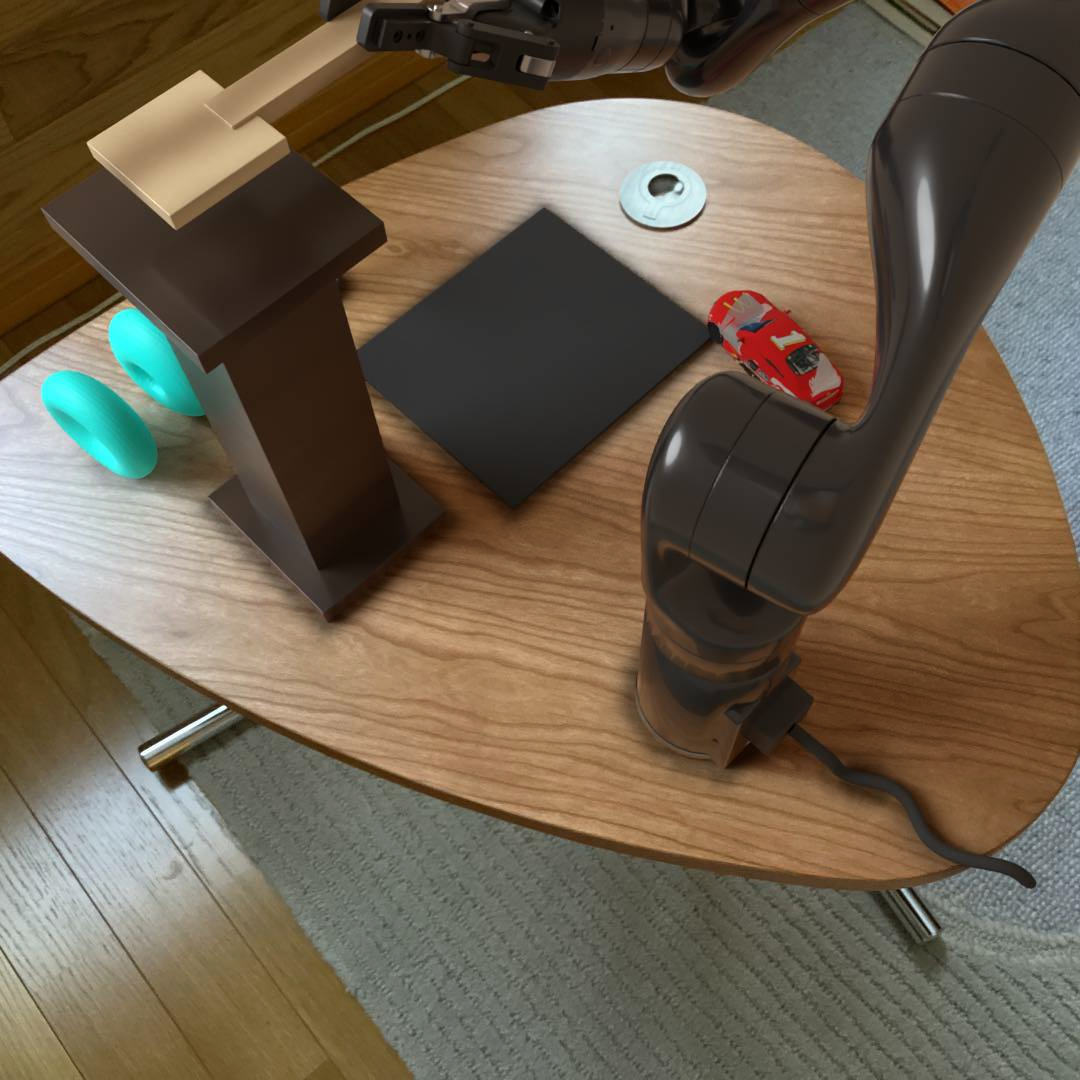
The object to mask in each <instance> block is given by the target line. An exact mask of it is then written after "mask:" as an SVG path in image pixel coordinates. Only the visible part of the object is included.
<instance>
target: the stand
mask: <svg viewBox="0 0 1080 1080" xmlns="http://www.w3.org/2000/svg"><path fill="white" fill-rule="evenodd" d="M289 149H290V153H289V154H287V155H286V156H285V157H283V158H282V159H280V160H279V161H277V162H276V163H274V164H273V165H271V166H270V167H268V168H267V169H266V170H264V171H263V172H261V173H260V174H258V175H257V176H255V177H254V178H252V179H251V180H250V181H248V182H247V183H245V184H244V185H242V186H241V187H239V188H238V189H236V190H235V191H233V192H232V193H231V194H229V195H228V196H226V197H225V198H223V199H222V200H220V201H219V202H217V203H216V204H215V205H213V206H212V207H210V208H209V209H207V210H206V211H204V212H203V213H201V214H200V215H198V216H197V217H196V218H194V219H193V220H191V221H190V222H188V223H187V224H185V225H184V226H182V227H181V228H180V229H178V230H175V229H174V228H173V227H172V226H171V225H170V224H168V223H167V222H166V221H165V220H164V219H163V218H162V217H161V216H159V215H158V214H157V213H156V212H155V211H154V210H153V209H152V208H150V207H149V206H148V205H147V204H146V203H145V202H144V201H142V200H141V199H140V198H139V197H138V196H137V195H136V194H135V193H133V192H132V191H131V190H130V189H129V188H128V187H127V186H126V185H124V184H123V183H122V182H121V181H120V180H119V179H118V178H117V177H115V176H114V175H113V174H112V173H111V172H110V171H109V170H107V169H106V168H105V167H104V166H103V167H101V169H99V170H97V171H96V172H94V173H92V174H91V175H88V177H86V178H84V179H82V181H80V182H78V183H77V184H76V185H74V186H72V187H71V188H69V189H67V190H66V191H64V192H63V193H62V194H60V195H58V196H57V197H55V198H54V199H52V200H50V201H49V202H48V203H46V204H45V205H43V206H41V207H40V210H41V211H42V214H43V215H44V217H45V219H46V221H47V222H48V224H49V226H50V228H51V229H52V230H53V231H54V232H56V233H57V234H58V235H59V236H60V237H61V238H62V239H63V240H64V241H65V242H66V243H67V244H68V245H69V246H70V247H71V248H72V249H73V250H75V252H77V253H78V254H79V255H80V256H81V257H82V258H83V259H84V260H85V261H86V262H87V263H88V264H89V265H90V266H92V267H93V269H94V270H96V272H98V273H99V274H100V275H101V277H103V278H104V279H105V280H106V281H107V282H108V283H109V284H111V285H112V287H114V288H115V289H116V291H118V292H119V293H120V294H121V295H123V297H124V298H125V299H126V300H127V301H128V302H130V304H132V306H133V307H134V308H135V309H138V310H139V311H140V312H141V313H142V314H143V315H144V316H145V317H146V318H148V319H149V320H150V321H151V322H152V323H153V324H154V325H155V326H156V327H157V328H158V329H159V330H160V331H161V332H162V333H163V334H164V335H165V337H166V339H167V340H168V342H169V344H170V346H171V348H172V350H173V352H174V354H175V356H176V358H177V360H178V362H179V364H180V366H181V368H182V370H183V372H184V374H185V375H186V377H187V379H188V381H189V383H190V385H191V387H192V389H193V391H194V393H195V395H196V397H197V399H198V401H199V403H200V405H201V407H202V409H203V410H204V412H205V416H206V418H207V420H208V423H209V424H210V427H211V428H212V430H213V432H214V434H215V436H216V438H217V440H218V441H219V444H220V445H221V447H222V450H223V451H224V453H225V455H226V458H227V459H228V461H229V464H230V466H231V467H232V469H233V471H234V473H235V474H234V475H233V476H232V477H231V478H229V479H228V480H227V481H226V482H224V483H223V484H222V485H220V486H219V487H217V488H216V489H215V490H213V491H212V492H211V493H210V494H209V495H207V500H208V502H209V503H210V505H211V506H212V508H213V509H214V510H215V511H216V512H217V513H218V514H219V515H220V516H221V517H222V518H223V519H224V520H225V522H227V523H228V524H229V525H230V526H231V527H232V528H233V529H234V530H235V531H236V532H237V533H238V534H239V535H240V536H241V537H242V538H243V540H245V541H246V543H248V544H249V545H250V546H251V547H252V548H253V549H254V550H255V551H256V552H257V553H258V554H259V555H260V556H261V557H262V558H263V559H264V560H265V561H266V562H267V563H268V564H269V566H271V568H272V569H273V570H275V572H277V573H278V575H280V576H281V578H282V579H283V580H284V581H285V582H286V583H287V584H288V585H289V586H290V587H291V588H292V589H293V590H295V592H296V593H297V594H298V595H299V596H300V597H301V598H302V599H303V600H304V601H305V602H306V603H307V604H308V605H309V606H310V607H311V608H312V609H313V610H314V611H315V612H316V613H317V614H318V615H319V616H320V617H321V618H322V619H323V620H324V621H325V623H328V622H330V621H331V620H332V619H333V618H335V617H336V616H337V615H338V614H339V613H341V612H342V611H343V610H344V609H346V607H348V606H349V605H350V604H351V603H352V602H353V601H355V600H356V599H357V598H359V596H360V595H362V594H363V593H364V592H365V591H366V590H367V589H369V588H370V587H371V586H373V585H374V583H376V582H377V581H378V580H380V579H381V578H382V577H383V576H384V575H386V573H388V572H389V571H390V570H391V569H392V568H394V567H395V566H396V565H398V563H399V562H400V561H402V560H403V559H404V558H405V557H406V556H407V555H409V554H410V553H412V552H413V551H414V549H416V548H417V547H419V545H421V543H423V542H424V541H425V540H426V539H428V538H429V537H430V536H432V535H433V533H435V532H436V531H437V530H438V529H439V528H441V527H442V526H443V525H445V523H447V521H448V520H449V518H448V513H447V509H445V508H444V507H443V506H442V505H441V504H440V503H439V502H438V501H436V499H434V498H433V497H432V496H431V495H430V494H429V493H427V492H426V490H425V489H423V488H422V487H421V486H420V485H419V484H418V483H416V481H414V479H412V478H411V477H410V476H409V475H408V474H407V473H406V472H405V471H403V470H402V469H401V468H400V467H399V466H398V465H396V464H395V462H394V461H392V460H391V459H390V457H388V456H387V452H386V449H385V446H384V442H383V438H382V434H381V432H380V428H379V424H378V421H377V418H376V417H377V416H376V415H375V414H376V413H375V410H374V407H373V403H372V400H371V396H370V393H369V390H368V386H367V381H366V380H365V379H364V375H363V372H362V368H361V365H360V361H359V358H358V354H357V351H356V350H357V348H356V344H355V341H354V337H353V333H352V330H351V327H350V323H349V320H348V317H347V313H346V312H347V311H346V310H345V309H346V308H345V304H344V302H343V299H342V295H341V290H340V291H339V288H338V284H337V281H336V279H337V278H339V279H340V277H342V276H343V275H344V274H346V273H347V272H348V271H349V270H351V269H352V268H354V267H356V266H357V265H358V264H359V263H361V262H362V261H363V260H365V259H366V258H367V257H369V256H370V255H372V254H373V253H374V252H376V251H377V250H378V249H380V248H381V247H383V246H384V245H385V244H387V243H388V241H389V239H388V235H387V232H386V225H385V222H384V221H383V220H382V219H381V218H379V216H377V215H376V214H374V213H373V211H371V210H370V209H369V208H367V207H366V206H365V205H363V204H362V203H361V202H360V201H358V200H357V199H356V198H354V197H353V196H352V195H351V194H349V192H347V191H346V190H345V189H343V188H342V187H341V186H340V185H338V184H337V183H336V182H335V181H333V179H331V178H330V177H328V176H327V175H326V174H325V173H323V172H322V171H321V170H320V169H319V168H317V167H316V166H315V165H313V164H312V163H311V162H309V161H308V160H307V159H306V158H304V156H302V155H300V154H299V153H298V152H297V151H296V150H294V149H293V148H292V147H291V146H290V147H289Z"/></svg>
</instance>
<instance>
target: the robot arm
mask: <svg viewBox="0 0 1080 1080" xmlns="http://www.w3.org/2000/svg"><path fill="white" fill-rule="evenodd" d="M360 1H361V0H320V2H319V7H318V15H319V17H320V18H321V19H322V20H323V21H325V22H326V23H327V22H329V21H331V20H332V19H334V18H335V17H337V16H338V15H340V14H341V13H343V12H345V11H346V10H348V9H349V8H351V7H352V6H354V5H355V4H357V3H358V2H360ZM854 1H855V0H445V2H441V3H428V4H427V6H426V9H425V8H424V7H422V6H421V5H419V4H418V3H376V2H371V3H368V4H367V5H366V6H365V7H364V9H363V11H362V15H361V19H360V23H359V28H358V32H357V36H356V41H357V43H358V44H359V45H360V46H361V47H363V48H364V49H365V50H367V51H368V52H377V53H378V52H380V53H382V52H415V53H416V55H417V54H418V55H419V56H420V57H422V58H423V59H426V60H427V59H428V60H429V59H430V60H437V59H446V61H445V68H446V69H447V70H449V71H450V72H452V73H453V74H455V75H464V76H468V77H471V78H472V77H473V78H477V79H483V80H487V81H492V82H498V83H502V84H507V85H512V86H518V87H523V88H528V89H533V90H535V91H546V89H547V87H548V84H549V82H564V81H581V80H588V79H593V78H596V77H599V76H600V77H601V76H603V75H611V74H631V73H634V74H635V73H644V72H648V71H652V70H655V69H658V68H660V67H662V66H663V68H664V72H665V75H666V77H667V80H668V81H669V83H670V85H672V87H673V88H675V89H676V90H677V91H678V92H680V93H682V94H684V95H686V96H689V97H693V98H707V97H712V96H713V97H714V96H717V95H720V94H723V93H724V92H727V91H729V90H731V89H732V88H734V87H737V85H739V84H740V83H742V82H744V81H745V80H747V78H748V77H750V76H751V75H752V74H754V72H756V71H757V70H758V69H759V68H760V67H761V66H762V65H763V64H764V63H765V62H767V60H768V59H770V57H771V56H772V55H774V54H775V52H776V51H778V49H780V48H781V47H782V46H783V45H784V44H785V43H786V42H787V41H789V40H790V39H791V38H793V36H795V35H796V34H797V33H798V32H799V31H801V30H802V29H803V28H805V27H806V26H808V25H809V24H810V23H812V22H813V21H815V20H817V19H818V18H821V17H822V16H825V15H827V14H829V13H831V12H833V11H835V10H838V9H840V8H842V7H843V6H845V5H847V4H850V3H852V2H854ZM1079 160H1080V0H975V1H973V2H971V3H969V4H968V5H967V6H965V7H963V8H962V9H960V10H959V11H958V12H956V13H955V14H954V15H953V16H951V17H950V18H949V19H948V20H947V21H946V22H945V23H944V24H943V25H942V26H941V27H940V28H939V29H938V30H937V31H936V33H934V35H933V36H932V37H931V38H930V40H929V42H928V43H927V44H926V46H925V47H924V49H923V51H922V52H921V54H920V56H919V57H918V59H917V61H916V62H915V64H914V66H913V67H912V70H911V71H910V73H909V75H908V76H907V77H906V79H905V81H904V84H903V85H902V86H901V88H900V89H899V92H898V93H897V95H896V97H895V98H894V100H893V102H892V104H891V106H890V108H889V109H888V111H887V113H886V114H885V116H884V117H883V119H882V121H881V123H880V125H879V126H878V128H877V130H876V132H875V134H874V136H873V139H872V141H871V144H870V146H869V150H868V155H867V160H866V165H865V178H864V179H865V183H864V184H865V185H864V186H865V187H864V189H865V193H864V194H865V209H866V223H867V233H868V241H869V242H868V243H869V250H870V259H871V266H872V267H871V268H872V275H873V282H874V295H875V296H874V297H875V343H874V344H875V347H874V348H875V349H874V361H873V362H874V363H873V372H872V377H871V384H870V389H869V395H868V399H867V402H866V404H865V407H864V409H863V412H862V413H861V415H860V416H859V418H858V419H856V420H855V421H853V422H849V421H846V420H844V419H842V418H838V416H836V415H834V414H832V413H830V412H829V411H827V412H826V411H823V410H821V409H819V408H817V407H815V406H813V405H811V404H809V403H807V402H805V401H803V400H800V399H798V398H796V397H794V396H792V395H790V394H788V393H786V392H784V391H781V390H779V389H777V388H775V387H773V386H770V385H768V384H766V383H764V382H762V381H760V380H758V379H756V378H754V377H752V376H750V375H749V374H748V373H744V372H742V371H739V370H729V369H727V370H721V371H718V372H714V373H711V374H710V375H708V376H705V378H703V379H701V380H700V381H698V382H697V383H696V384H695V385H694V386H693V387H692V388H691V389H689V391H687V392H686V393H685V394H684V395H683V396H682V398H681V399H680V400H679V402H678V403H677V404H676V406H675V407H674V408H673V410H672V411H671V413H670V414H669V416H668V418H667V420H666V421H665V423H664V425H663V427H662V429H661V431H660V432H659V435H658V437H657V439H656V442H655V445H654V446H653V449H652V453H651V455H650V459H649V462H648V465H647V466H648V467H647V468H646V473H645V478H644V483H643V490H642V495H641V502H640V521H639V522H640V524H639V526H640V527H639V528H640V530H639V531H640V552H641V554H640V555H641V556H640V558H641V559H640V561H641V565H640V567H641V568H640V569H641V570H640V579H641V586H642V587H641V588H642V589H643V592H644V595H645V602H644V603H645V604H644V612H643V621H642V630H641V639H640V650H639V657H638V667H637V668H638V669H637V672H636V677H635V684H634V700H635V701H634V702H635V706H636V710H637V713H638V715H639V718H640V720H641V722H642V724H643V725H644V727H645V729H646V730H647V731H648V732H649V734H650V735H651V736H652V737H653V738H654V739H655V740H656V741H657V742H658V743H659V744H661V745H662V746H664V747H665V748H666V749H668V750H670V751H671V752H674V753H676V754H678V755H680V756H684V757H687V758H691V759H696V760H710V761H711V762H713V763H714V764H715V765H716V766H717V767H719V768H720V769H725V768H726V767H728V766H729V764H730V763H732V762H733V761H734V759H735V758H737V756H738V755H739V754H740V753H741V752H742V751H743V750H744V749H745V748H746V747H748V746H749V745H750V744H752V745H753V746H754V747H755V748H756V749H757V750H759V751H760V752H761V753H762V754H763V755H764V756H765V757H769V756H770V754H771V753H772V752H773V751H774V750H775V749H776V748H777V747H778V746H779V745H780V744H781V743H782V742H783V740H785V739H786V738H787V736H789V737H790V738H791V739H793V741H795V742H796V743H797V744H799V746H801V747H802V748H804V749H805V750H806V751H807V752H809V753H810V754H811V755H813V756H814V757H815V758H816V759H817V760H818V761H819V762H821V763H822V764H823V765H825V766H826V767H827V769H828V770H829V771H830V772H831V774H833V776H835V777H837V778H838V779H840V780H842V781H844V782H846V783H850V784H853V785H856V786H861V787H866V788H871V789H876V790H880V791H883V792H885V793H888V794H889V795H890V796H892V797H894V798H895V799H897V800H898V802H899V803H900V804H901V805H902V807H903V808H904V811H905V812H906V814H907V816H908V818H909V821H910V823H911V825H912V827H913V829H914V831H915V834H916V835H917V836H918V838H919V839H920V841H921V842H922V843H923V845H925V846H926V848H927V849H929V850H930V851H931V852H933V853H934V854H936V855H937V856H939V857H941V858H943V859H945V860H946V861H949V862H951V863H953V864H957V865H961V866H963V867H968V868H971V869H978V870H982V871H989V872H992V873H993V872H994V873H998V874H1001V875H1004V876H1008V877H1009V878H1012V879H1013V880H1015V881H1016V882H1017V883H1018V884H1020V885H1021V886H1022V887H1024V888H1026V889H1027V890H1028V889H1029V890H1033V889H1035V888H1037V881H1036V879H1035V877H1034V875H1032V874H1031V872H1029V871H1028V870H1027V869H1026V868H1025V867H1023V866H1021V865H1019V864H1017V863H1015V862H1014V861H1010V860H1007V859H1004V858H999V857H993V856H991V855H983V854H978V853H973V852H968V851H966V850H961V849H958V848H956V847H953V846H951V845H949V844H947V843H945V842H944V841H943V840H941V839H940V838H938V837H937V836H936V835H935V834H934V832H933V831H932V829H931V828H930V826H929V825H928V822H927V820H926V818H925V816H924V813H923V812H922V809H921V808H920V805H919V804H918V802H917V800H916V799H915V797H914V796H913V795H912V793H911V792H910V791H909V790H908V789H906V788H905V787H904V786H903V785H901V784H900V783H899V782H897V781H895V780H893V779H891V778H888V777H886V776H882V775H879V774H875V773H869V772H864V771H859V770H856V769H854V768H851V767H848V766H847V765H845V764H844V763H843V762H842V760H841V759H840V758H839V757H838V756H837V755H836V754H835V753H833V751H831V750H830V749H829V748H827V747H826V745H824V744H823V743H821V742H820V741H819V740H818V739H817V738H815V737H814V736H813V735H812V734H810V733H809V732H808V731H806V730H805V729H804V728H803V727H802V726H800V725H799V724H800V722H801V721H802V720H803V719H804V718H806V716H807V715H808V713H809V711H810V710H811V707H812V705H813V703H814V701H815V697H814V696H812V695H811V694H810V693H809V692H808V691H807V690H806V689H804V688H803V687H802V686H801V685H800V684H799V683H798V682H796V681H795V680H794V679H795V677H796V675H797V673H798V670H799V668H800V665H801V663H802V662H803V658H802V656H801V654H799V653H798V652H797V651H796V650H795V647H796V645H797V644H798V640H799V639H800V635H801V633H802V631H803V628H804V626H805V623H806V622H807V619H808V617H810V616H813V615H816V614H818V613H820V612H822V611H823V610H824V609H826V607H828V606H829V605H831V604H832V603H833V602H834V601H835V600H836V598H837V597H838V596H839V595H840V593H841V592H842V591H843V590H844V589H845V588H846V586H847V585H848V583H849V582H850V580H851V579H852V577H853V576H854V575H855V573H856V572H857V570H858V568H859V566H860V565H861V563H862V561H863V560H864V558H865V557H866V555H867V553H868V551H869V549H870V548H871V546H872V544H873V542H874V540H875V538H876V536H878V535H877V534H878V533H879V531H880V529H881V527H882V525H883V523H884V521H885V518H886V517H887V515H888V513H889V511H890V509H891V507H892V505H893V502H894V500H895V499H896V497H897V494H898V493H899V490H900V488H901V487H902V484H903V482H904V480H905V478H906V476H907V474H908V472H909V469H910V468H911V465H912V464H913V461H914V460H915V457H916V456H917V454H918V451H919V449H920V447H921V445H922V443H923V441H924V438H925V437H926V434H927V433H928V431H929V429H930V427H931V425H932V422H933V421H934V419H935V416H936V414H937V412H938V410H939V408H940V406H941V404H942V402H943V399H944V398H945V396H946V394H947V392H948V389H949V388H950V385H951V383H952V381H953V379H954V377H955V376H956V373H957V372H958V369H959V367H960V365H961V363H962V361H963V359H964V357H965V356H966V353H967V351H968V350H969V348H970V346H971V344H972V342H973V341H974V338H975V336H976V334H977V333H978V331H979V330H980V328H981V326H982V324H983V322H984V321H985V318H986V317H987V315H988V313H989V312H990V310H991V308H992V306H993V305H994V303H995V301H996V300H997V298H998V296H999V295H1000V293H1001V291H1002V289H1003V288H1004V286H1005V285H1006V283H1007V281H1008V280H1009V278H1010V276H1011V275H1012V274H1013V272H1014V270H1015V268H1016V267H1017V265H1018V263H1019V261H1020V260H1021V258H1022V257H1023V255H1024V253H1025V252H1026V250H1027V248H1028V247H1029V245H1030V244H1031V242H1032V240H1033V238H1034V237H1035V235H1036V234H1037V232H1038V230H1039V229H1040V227H1041V225H1043V222H1044V221H1045V219H1046V218H1047V216H1048V214H1049V212H1050V211H1051V209H1052V207H1053V206H1054V204H1055V203H1056V201H1057V200H1058V198H1059V195H1060V194H1061V192H1062V190H1063V189H1064V187H1065V185H1066V183H1067V181H1068V180H1069V178H1070V176H1071V175H1072V173H1073V171H1074V169H1075V167H1076V165H1077V164H1078V162H1079Z"/></svg>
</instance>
